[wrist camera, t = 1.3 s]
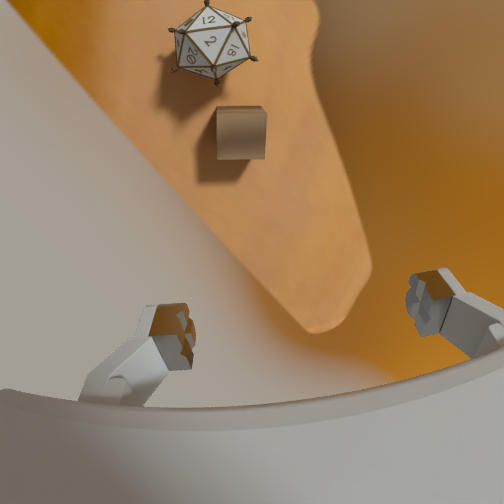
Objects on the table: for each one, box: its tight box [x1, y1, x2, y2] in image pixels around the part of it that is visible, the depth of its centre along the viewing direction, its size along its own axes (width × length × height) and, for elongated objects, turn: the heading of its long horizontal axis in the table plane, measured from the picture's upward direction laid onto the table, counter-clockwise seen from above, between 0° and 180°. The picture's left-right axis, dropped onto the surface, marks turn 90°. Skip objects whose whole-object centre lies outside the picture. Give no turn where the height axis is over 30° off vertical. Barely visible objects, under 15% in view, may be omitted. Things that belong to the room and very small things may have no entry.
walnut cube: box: [217, 106, 267, 160], centre depth 32 cm, size 5×5×5 cm
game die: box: [168, 0, 259, 87], centre depth 25 cm, size 9×8×10 cm
